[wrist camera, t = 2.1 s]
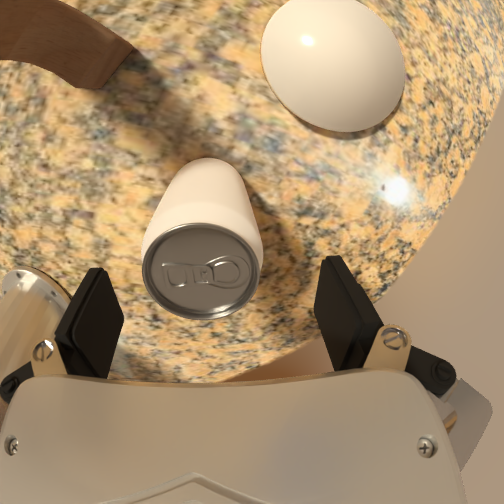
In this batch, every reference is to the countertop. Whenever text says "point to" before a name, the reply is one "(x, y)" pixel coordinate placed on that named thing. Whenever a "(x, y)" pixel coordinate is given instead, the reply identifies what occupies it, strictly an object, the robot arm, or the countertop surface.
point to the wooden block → (60, 41)
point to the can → (203, 243)
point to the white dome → (333, 63)
